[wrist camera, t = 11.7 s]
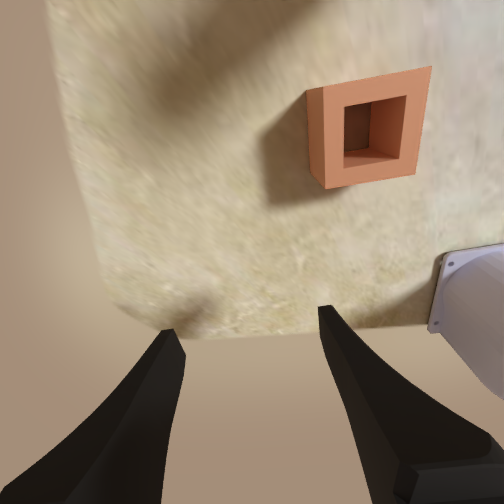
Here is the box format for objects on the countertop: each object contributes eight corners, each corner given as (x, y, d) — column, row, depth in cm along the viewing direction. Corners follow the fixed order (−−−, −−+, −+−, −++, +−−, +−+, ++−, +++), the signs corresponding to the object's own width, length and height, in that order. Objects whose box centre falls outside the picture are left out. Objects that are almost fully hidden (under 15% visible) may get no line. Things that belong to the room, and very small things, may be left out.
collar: (382, 160, 18) (415, 174, 14) (310, 172, 18) (325, 189, 15) (389, 74, 15) (431, 65, 12) (306, 90, 16) (323, 86, 12)
